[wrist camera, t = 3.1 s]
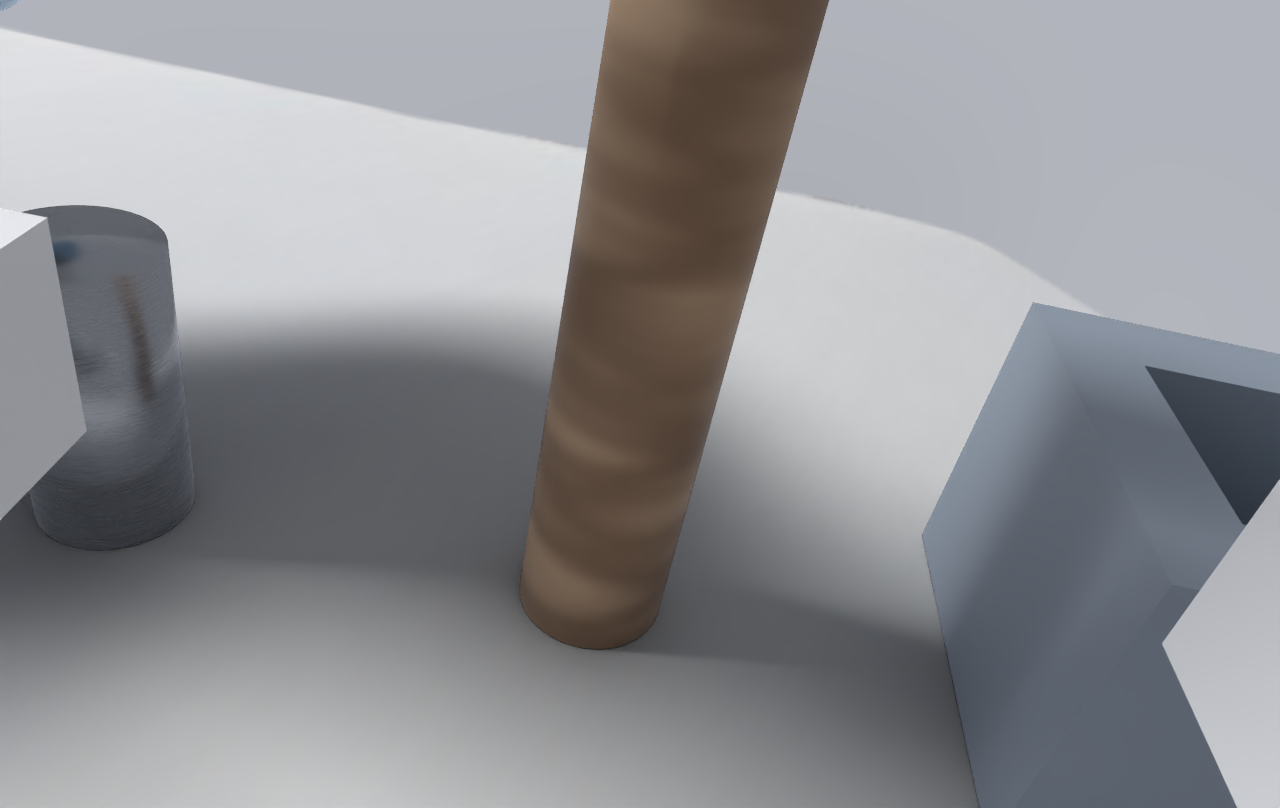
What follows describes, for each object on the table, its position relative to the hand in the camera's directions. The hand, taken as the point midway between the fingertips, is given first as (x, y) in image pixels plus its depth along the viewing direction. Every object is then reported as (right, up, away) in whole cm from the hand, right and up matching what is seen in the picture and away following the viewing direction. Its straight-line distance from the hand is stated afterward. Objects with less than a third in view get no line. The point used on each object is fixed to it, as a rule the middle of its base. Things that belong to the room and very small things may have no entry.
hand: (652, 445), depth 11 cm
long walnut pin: (-2, -5, +17) cm, 18 cm away
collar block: (+14, -8, +17) cm, 24 cm away
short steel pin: (-15, -2, +17) cm, 22 cm away
